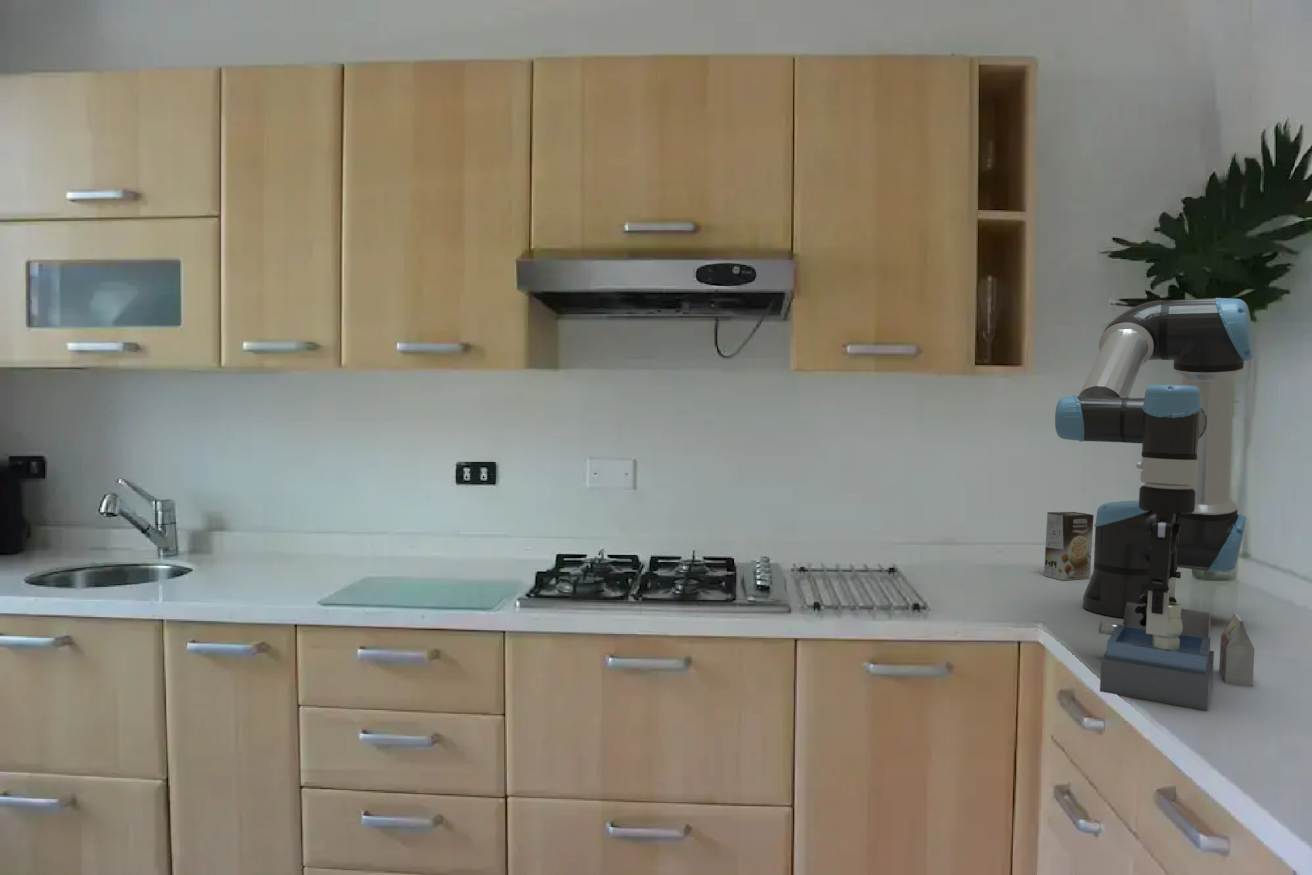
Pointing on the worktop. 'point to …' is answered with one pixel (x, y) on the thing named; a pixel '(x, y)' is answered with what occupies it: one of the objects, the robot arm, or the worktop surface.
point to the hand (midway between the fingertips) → (1160, 626)
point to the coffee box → (1068, 545)
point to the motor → (1159, 661)
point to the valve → (1172, 624)
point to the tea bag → (1236, 654)
